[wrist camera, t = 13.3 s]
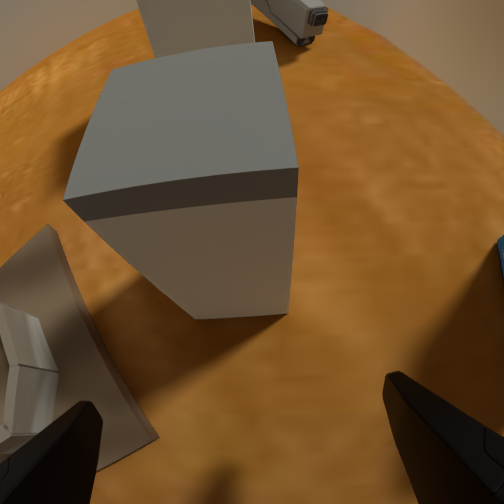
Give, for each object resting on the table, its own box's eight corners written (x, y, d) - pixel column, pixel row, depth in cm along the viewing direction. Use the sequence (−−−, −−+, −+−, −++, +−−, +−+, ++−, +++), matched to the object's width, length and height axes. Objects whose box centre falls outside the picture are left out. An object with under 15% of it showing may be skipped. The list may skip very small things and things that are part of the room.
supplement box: (262, 94, 24) (248, -48, 12) (175, 121, 23) (126, -18, 12) (236, 56, 27) (218, -57, 15) (163, 78, 26) (126, -33, 15)
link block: (288, 313, 17) (298, 167, 6) (195, 319, 17) (62, 200, 6) (280, 229, 19) (272, 41, 8) (196, 236, 19) (111, 70, 8)
